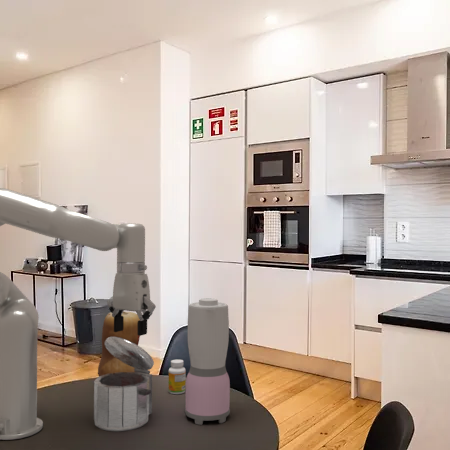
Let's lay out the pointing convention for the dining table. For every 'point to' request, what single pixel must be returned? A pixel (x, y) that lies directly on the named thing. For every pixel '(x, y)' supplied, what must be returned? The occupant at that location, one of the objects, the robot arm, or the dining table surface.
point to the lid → (130, 354)
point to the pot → (122, 400)
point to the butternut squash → (129, 333)
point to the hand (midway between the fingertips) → (130, 332)
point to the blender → (208, 361)
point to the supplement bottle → (177, 377)
